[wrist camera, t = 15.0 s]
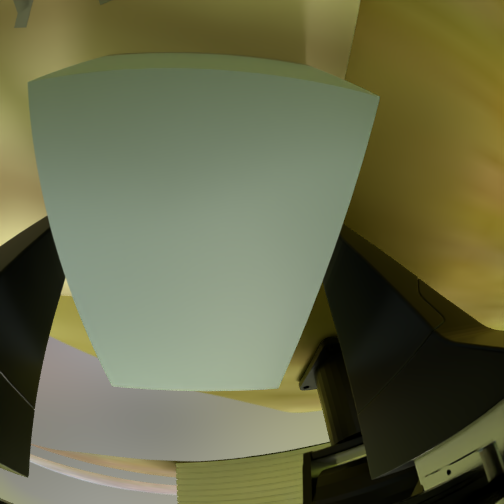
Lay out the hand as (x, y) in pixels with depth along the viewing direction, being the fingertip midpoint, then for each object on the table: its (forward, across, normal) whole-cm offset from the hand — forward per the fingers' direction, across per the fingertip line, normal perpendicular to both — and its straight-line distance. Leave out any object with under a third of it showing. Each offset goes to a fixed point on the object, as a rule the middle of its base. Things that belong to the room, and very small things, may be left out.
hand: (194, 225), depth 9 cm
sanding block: (+2, 0, 0) cm, 2 cm away
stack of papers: (+4, -13, +45) cm, 47 cm away
